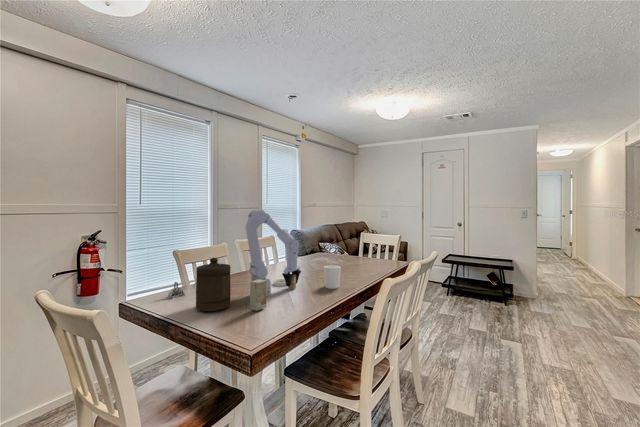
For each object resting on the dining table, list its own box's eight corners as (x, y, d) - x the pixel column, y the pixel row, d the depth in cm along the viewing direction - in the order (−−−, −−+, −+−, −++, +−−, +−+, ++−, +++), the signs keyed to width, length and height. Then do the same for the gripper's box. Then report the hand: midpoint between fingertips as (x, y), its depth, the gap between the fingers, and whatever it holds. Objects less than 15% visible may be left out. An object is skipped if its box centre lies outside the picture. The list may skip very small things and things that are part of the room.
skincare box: (256, 311, 127) (256, 282, 127) (249, 309, 130) (249, 281, 130) (266, 307, 133) (266, 280, 133) (259, 305, 135) (259, 278, 135)
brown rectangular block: (296, 288, 165) (296, 274, 164) (293, 290, 161) (293, 275, 161) (289, 288, 165) (290, 274, 165) (287, 290, 162) (287, 275, 162)
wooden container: (236, 302, 140) (236, 256, 140) (219, 312, 126) (219, 261, 125) (208, 300, 143) (208, 255, 143) (188, 310, 129) (188, 259, 128)
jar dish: (291, 283, 176) (291, 279, 176) (286, 287, 168) (286, 283, 168) (277, 282, 179) (277, 278, 179) (271, 286, 170) (271, 282, 170)
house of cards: (177, 292, 157) (177, 278, 157) (188, 294, 153) (188, 280, 153) (161, 296, 150) (161, 281, 150) (171, 299, 145) (171, 284, 145)
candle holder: (320, 288, 164) (321, 267, 164) (327, 284, 173) (327, 264, 173) (337, 290, 161) (337, 268, 161) (343, 286, 170) (343, 265, 170)
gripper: (292, 257, 171) (292, 281, 171) (278, 261, 158) (278, 286, 158) (302, 258, 168) (302, 282, 169) (290, 262, 155) (290, 288, 155)
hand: (291, 284), depth 163 cm, fingers open, 7 cm apart
